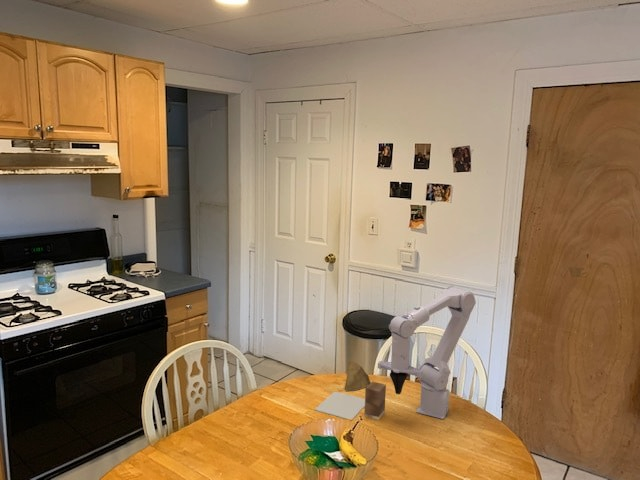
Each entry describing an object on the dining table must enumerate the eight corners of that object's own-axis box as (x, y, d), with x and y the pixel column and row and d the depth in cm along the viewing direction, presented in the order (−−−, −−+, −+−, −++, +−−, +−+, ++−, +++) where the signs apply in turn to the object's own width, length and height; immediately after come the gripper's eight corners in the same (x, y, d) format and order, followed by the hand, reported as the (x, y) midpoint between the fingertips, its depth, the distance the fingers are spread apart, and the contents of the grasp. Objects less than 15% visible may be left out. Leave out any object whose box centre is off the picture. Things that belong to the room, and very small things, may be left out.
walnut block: (384, 412, 165) (385, 384, 164) (378, 420, 160) (379, 391, 158) (371, 408, 167) (372, 381, 166) (364, 416, 162) (365, 388, 161)
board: (369, 400, 173) (369, 400, 173) (351, 420, 159) (351, 419, 159) (334, 392, 179) (334, 391, 179) (314, 410, 165) (314, 409, 165)
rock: (372, 375, 189) (347, 370, 190) (375, 364, 183) (349, 359, 184) (368, 401, 182) (342, 395, 183) (371, 390, 176) (344, 384, 177)
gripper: (375, 353, 156) (373, 392, 158) (418, 362, 150) (416, 403, 152) (382, 346, 163) (381, 384, 165) (424, 354, 156) (422, 394, 158)
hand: (398, 392), depth 159 cm, fingers closed
